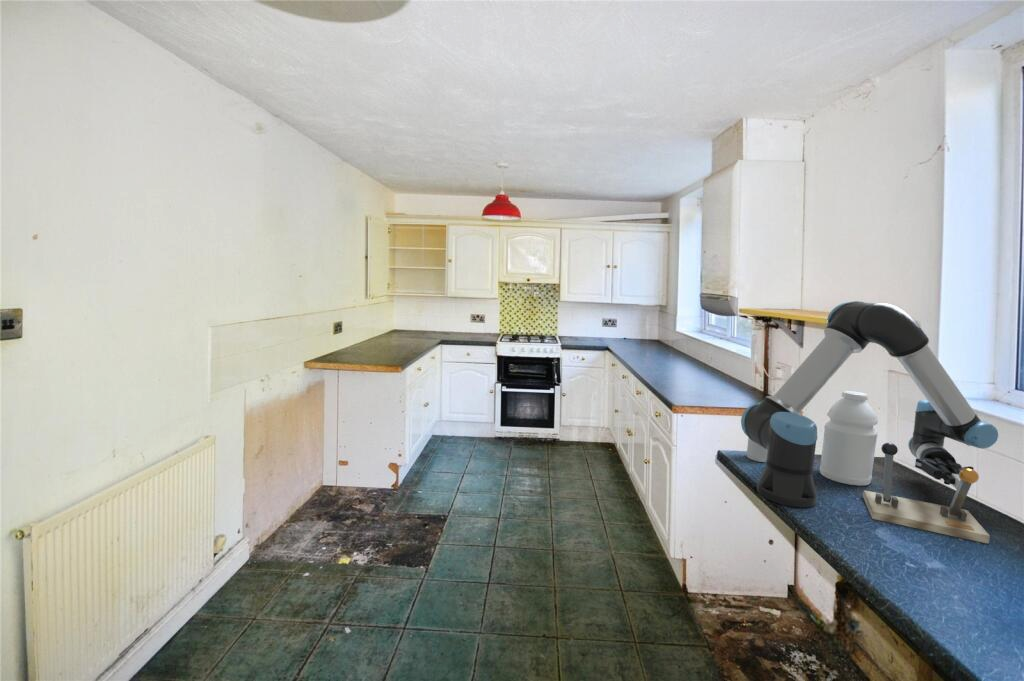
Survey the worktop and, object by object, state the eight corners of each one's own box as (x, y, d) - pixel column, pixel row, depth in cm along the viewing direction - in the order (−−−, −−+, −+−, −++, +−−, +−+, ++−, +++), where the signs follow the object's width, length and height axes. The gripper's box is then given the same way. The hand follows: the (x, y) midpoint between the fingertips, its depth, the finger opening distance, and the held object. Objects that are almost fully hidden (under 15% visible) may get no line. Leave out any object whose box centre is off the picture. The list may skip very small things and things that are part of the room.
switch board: (872, 518, 129) (874, 504, 128) (862, 496, 143) (864, 483, 142) (988, 543, 118) (991, 528, 117) (966, 517, 132) (968, 503, 131)
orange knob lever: (944, 517, 127) (962, 474, 118) (942, 506, 129) (959, 463, 121) (963, 521, 125) (982, 477, 117) (959, 510, 128) (978, 466, 119)
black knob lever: (879, 500, 132) (883, 441, 136) (877, 500, 136) (880, 442, 139) (896, 503, 131) (899, 443, 134) (893, 503, 134) (896, 444, 137)
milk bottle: (773, 464, 167) (780, 407, 165) (749, 461, 169) (755, 405, 166) (766, 456, 175) (772, 401, 172) (743, 454, 176) (749, 400, 174)
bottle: (833, 466, 167) (843, 386, 163) (879, 481, 155) (891, 395, 151) (810, 473, 160) (820, 389, 156) (857, 489, 148) (868, 399, 144)
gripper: (962, 475, 142) (995, 507, 121) (906, 467, 148) (928, 495, 127) (966, 450, 141) (999, 478, 120) (909, 443, 147) (932, 468, 126)
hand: (963, 487), depth 124 cm, fingers closed
